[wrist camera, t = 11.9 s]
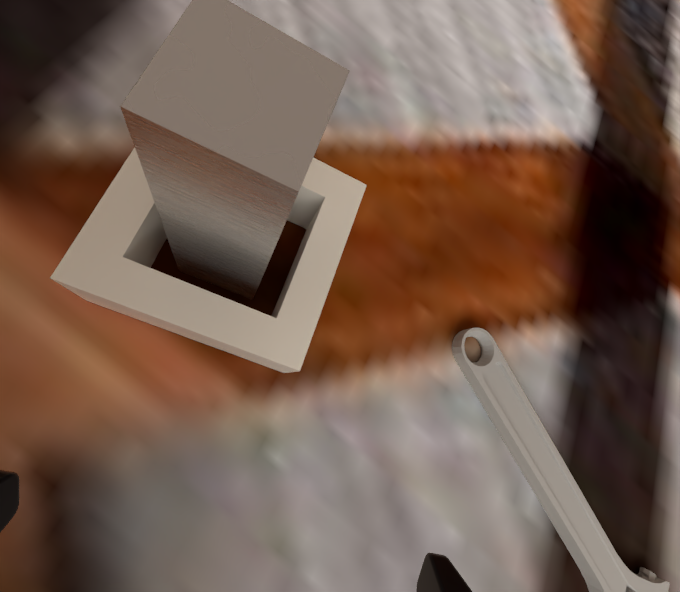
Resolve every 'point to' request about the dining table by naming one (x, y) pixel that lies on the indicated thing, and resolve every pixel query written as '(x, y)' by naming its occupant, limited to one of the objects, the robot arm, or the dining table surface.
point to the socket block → (196, 303)
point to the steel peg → (229, 137)
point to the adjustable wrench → (547, 470)
